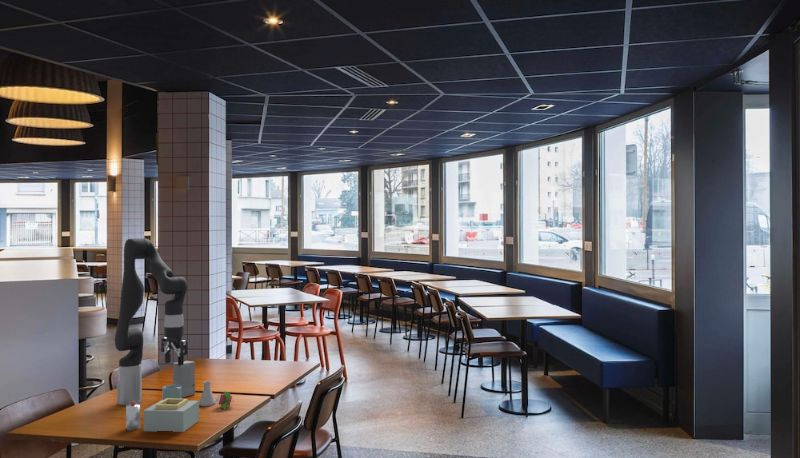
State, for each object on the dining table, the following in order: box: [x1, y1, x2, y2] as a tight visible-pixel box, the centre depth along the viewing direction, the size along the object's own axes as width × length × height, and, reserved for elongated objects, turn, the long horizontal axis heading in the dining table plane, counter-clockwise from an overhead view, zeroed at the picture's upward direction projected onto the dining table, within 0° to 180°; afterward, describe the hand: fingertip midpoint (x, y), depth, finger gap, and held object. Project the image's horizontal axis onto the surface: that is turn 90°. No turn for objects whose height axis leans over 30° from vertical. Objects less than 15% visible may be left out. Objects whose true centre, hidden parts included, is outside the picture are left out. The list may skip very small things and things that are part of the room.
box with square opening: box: [143, 398, 200, 433], centre depth 231 cm, size 16×14×10 cm
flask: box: [199, 380, 217, 407], centre depth 259 cm, size 7×7×10 cm
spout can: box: [125, 401, 141, 431], centre depth 228 cm, size 5×5×10 cm
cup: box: [161, 384, 182, 400], centre depth 251 cm, size 8×8×10 cm
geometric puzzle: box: [215, 391, 234, 409], centre depth 255 cm, size 7×7×8 cm
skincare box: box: [172, 360, 196, 399], centre depth 274 cm, size 8×7×16 cm
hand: (174, 364), depth 241 cm, fingers open, 8 cm apart
